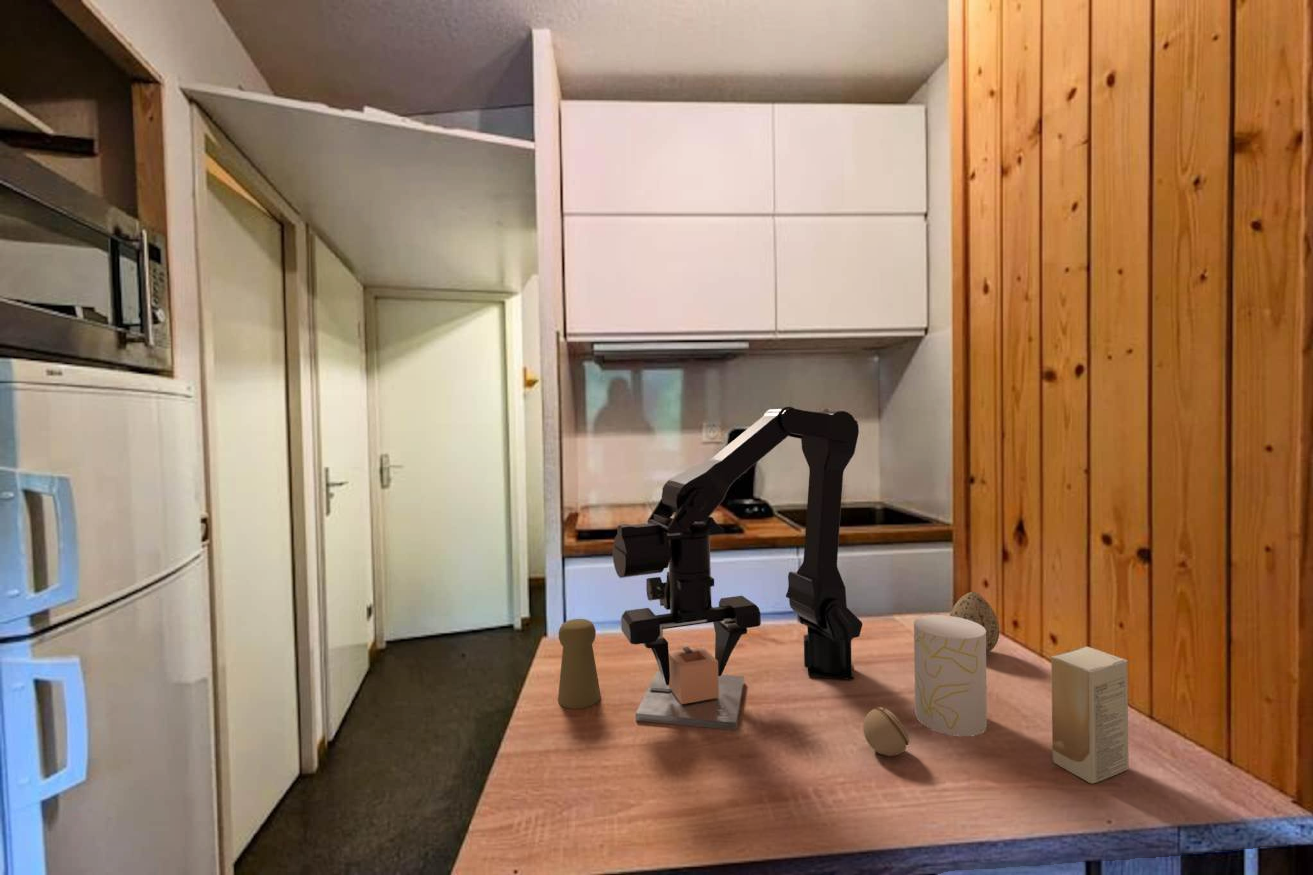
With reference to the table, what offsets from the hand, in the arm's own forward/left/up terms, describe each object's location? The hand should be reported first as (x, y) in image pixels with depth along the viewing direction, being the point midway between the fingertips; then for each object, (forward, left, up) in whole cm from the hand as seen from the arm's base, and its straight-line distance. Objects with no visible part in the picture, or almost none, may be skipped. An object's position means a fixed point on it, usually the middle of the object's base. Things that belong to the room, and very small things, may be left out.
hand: (692, 679), depth 80 cm
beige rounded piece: (-24, +8, -3) cm, 26 cm away
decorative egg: (-42, -23, -3) cm, 48 cm away
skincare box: (-45, +7, -3) cm, 46 cm away
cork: (+16, +2, -3) cm, 16 cm away
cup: (-33, -1, -3) cm, 33 cm away
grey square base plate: (0, 0, -3) cm, 3 cm away
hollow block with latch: (0, 0, -2) cm, 2 cm away
